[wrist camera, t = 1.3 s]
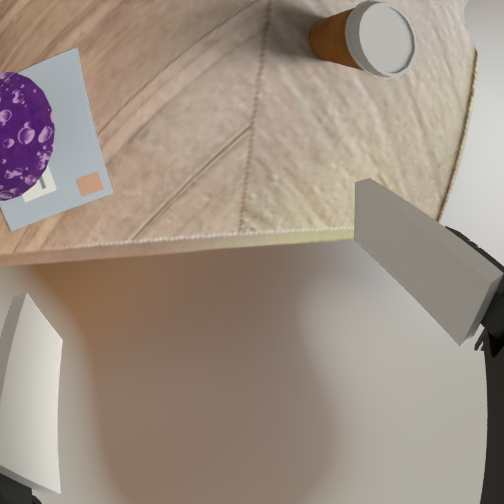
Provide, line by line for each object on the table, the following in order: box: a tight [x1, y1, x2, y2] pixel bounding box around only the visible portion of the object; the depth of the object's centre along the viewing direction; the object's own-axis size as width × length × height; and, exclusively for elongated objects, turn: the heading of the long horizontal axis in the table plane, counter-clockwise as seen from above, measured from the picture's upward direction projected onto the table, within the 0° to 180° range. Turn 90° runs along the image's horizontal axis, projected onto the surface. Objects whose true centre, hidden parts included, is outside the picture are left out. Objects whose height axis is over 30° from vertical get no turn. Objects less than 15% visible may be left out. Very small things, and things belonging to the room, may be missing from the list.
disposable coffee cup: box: [309, 0, 417, 80], centre depth 28 cm, size 10×10×12 cm
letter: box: [0, 47, 114, 232], centre depth 28 cm, size 19×16×1 cm
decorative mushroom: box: [0, 72, 55, 201], centre depth 20 cm, size 12×12×15 cm
